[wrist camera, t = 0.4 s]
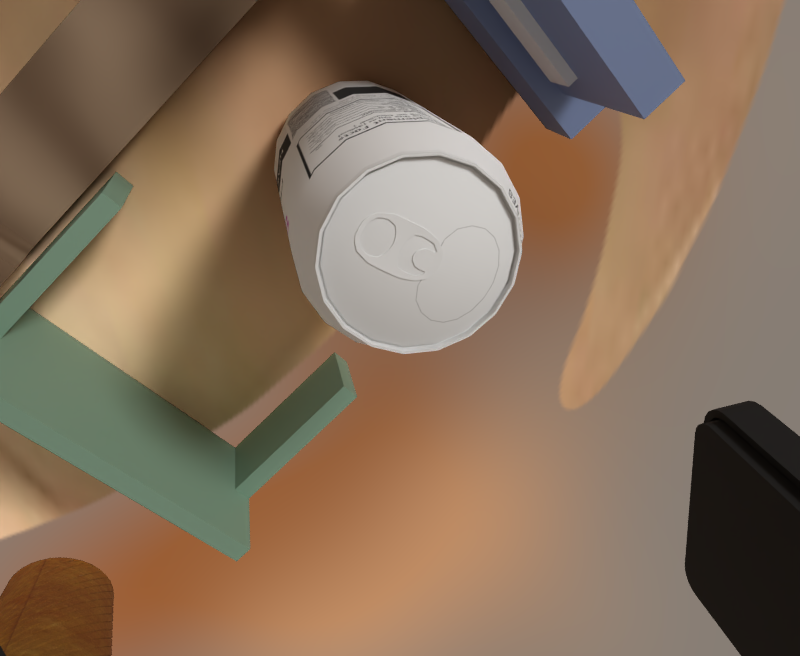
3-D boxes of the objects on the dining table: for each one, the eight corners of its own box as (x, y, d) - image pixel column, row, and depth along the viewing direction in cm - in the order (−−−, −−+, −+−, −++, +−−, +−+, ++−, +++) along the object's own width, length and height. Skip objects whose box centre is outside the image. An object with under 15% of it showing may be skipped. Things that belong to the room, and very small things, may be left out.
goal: (116, 171, 34) (84, 218, 27) (346, 362, 41) (369, 438, 34) (-7, 305, 36) (-67, 383, 29) (236, 467, 43) (236, 561, 36)
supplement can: (458, 126, 37) (584, 202, 23) (383, 262, 39) (459, 400, 26) (319, 46, 34) (373, 80, 20) (247, 198, 36) (253, 317, 23)
